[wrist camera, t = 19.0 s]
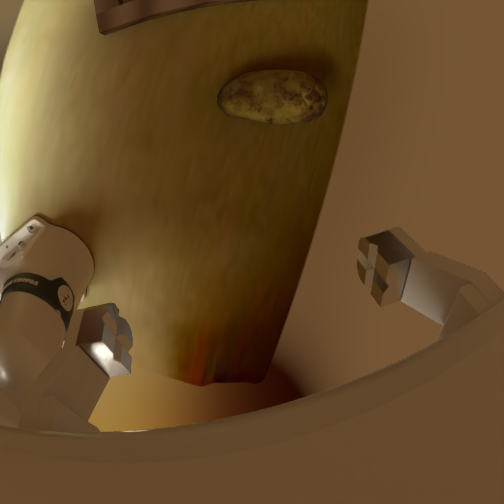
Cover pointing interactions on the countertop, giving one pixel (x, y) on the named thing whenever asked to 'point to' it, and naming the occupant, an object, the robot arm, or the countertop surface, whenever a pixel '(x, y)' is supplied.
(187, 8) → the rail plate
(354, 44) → the countertop surface
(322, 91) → the potato
